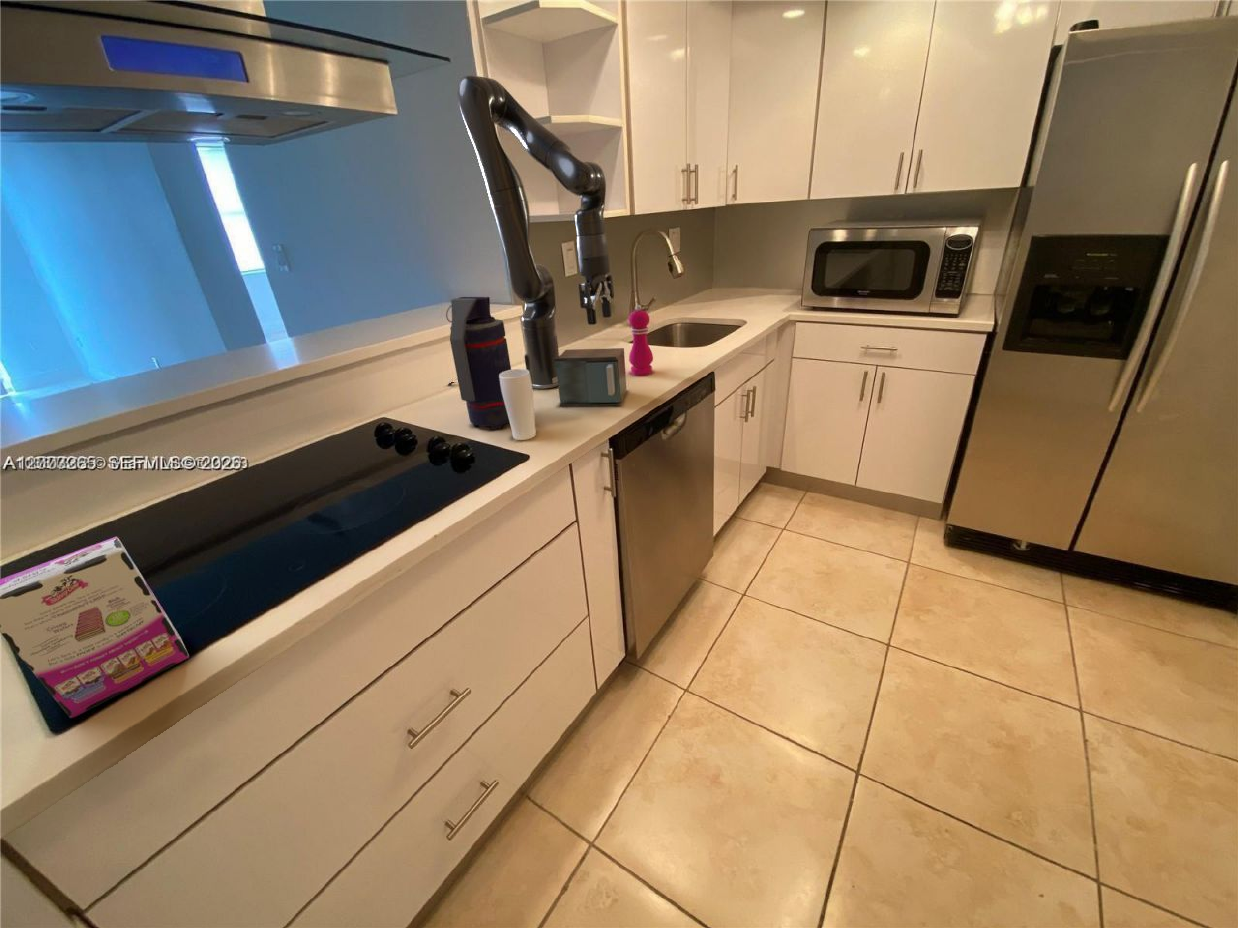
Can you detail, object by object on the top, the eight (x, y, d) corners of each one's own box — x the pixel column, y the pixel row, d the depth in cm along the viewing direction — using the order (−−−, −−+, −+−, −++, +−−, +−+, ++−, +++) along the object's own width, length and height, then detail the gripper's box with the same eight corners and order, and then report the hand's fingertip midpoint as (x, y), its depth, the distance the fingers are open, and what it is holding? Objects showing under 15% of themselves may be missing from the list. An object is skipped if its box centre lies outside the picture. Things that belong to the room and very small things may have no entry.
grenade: (491, 411, 137) (468, 292, 123) (528, 415, 132) (509, 292, 118) (455, 431, 126) (426, 303, 112) (494, 436, 121) (468, 303, 107)
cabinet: (559, 406, 136) (553, 358, 130) (570, 391, 146) (565, 346, 141) (619, 406, 133) (616, 357, 128) (626, 391, 143) (623, 345, 138)
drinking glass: (513, 431, 123) (502, 369, 116) (541, 429, 123) (532, 367, 116) (506, 443, 117) (495, 378, 110) (536, 441, 116) (526, 376, 110)
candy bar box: (182, 639, 67) (119, 533, 60) (191, 658, 64) (126, 548, 57) (64, 697, 60) (-24, 584, 53) (69, 721, 57) (-25, 605, 49)
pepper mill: (654, 368, 161) (651, 302, 152) (653, 375, 154) (650, 306, 145) (630, 369, 162) (626, 303, 153) (628, 376, 155) (624, 308, 146)
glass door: (586, 406, 132) (582, 366, 127) (589, 401, 135) (585, 362, 130) (617, 406, 130) (614, 366, 126) (619, 401, 133) (617, 361, 129)
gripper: (593, 252, 136) (599, 315, 143) (565, 258, 125) (574, 326, 132) (619, 250, 133) (624, 315, 140) (593, 257, 122) (600, 327, 129)
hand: (600, 320), depth 136 cm, fingers open, 8 cm apart
